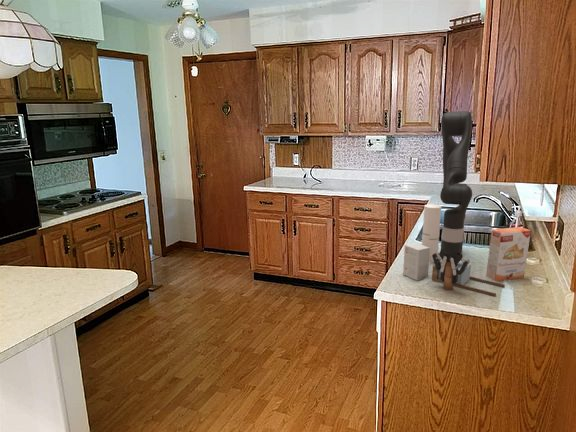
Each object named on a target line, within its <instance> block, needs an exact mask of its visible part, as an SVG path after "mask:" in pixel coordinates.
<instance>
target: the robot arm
mask: <svg viewBox="0 0 576 432" xmlns="http://www.w3.org/2000/svg"><path fill="white" fill-rule="evenodd" d="M440 125H441V137H442V173H443V181H442V182H443V183H442V188H441V190H440V194H439V196H440V200H441V202H442V203H444V205H456V207H453V208H448V209H446V210H445V211H444V214H443V223H442V224H443V225H442V230H441V236H440V237H441V240H440V251H438V253H434V254H433V255H432V257H433V260H434V262H433V263H434V264H433V265H435V267H436V269H437V270H440V271H441V275H440V279H441V281H443V282H444V273H445V264H446V261H447V262H451V266H452V270H453V275H452V284H455V283H456V282H457V281H458V275H461V274H462V273H463V272H464V271H465V269H466V267H467V266H468V264H470V262H471V260H470V259H465V258H464V256H463V245H464V233H465V222H466V213H467V211H468V207H469V205H470V203H471V200H472V199H473V198H472V197H473V191H472V188H471V186H469V185H468V184H467V183H464V182H466V181H467V177H468V156H469V151H470V150H469V149H470V146H471V144H470V143H471V137H472V128H473V116H472V113H471V112H470V111H468V110H466V111H465V110H459V111H458V110H457V111H447V112H445V113H443V114H442V116H441V124H440ZM453 136H454V137H455V136H456V137H457V136H459V137H460V136H461V138H460V140H459V142H458V143H457V142H456V140H455V138H453ZM457 205H458V206H457ZM440 258H441V260H440ZM440 261H443V262H442V265H441V263H440ZM459 262H462V267H461V268H460V270H458V267H459V266H458V263H459Z"/></svg>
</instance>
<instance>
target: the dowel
mask: <svg viewBox="0 0 576 432" xmlns="http://www.w3.org/2000/svg"><path fill="white" fill-rule="evenodd" d="M452 275H453V270H452V266H451V262H447V261H446V264H445V273H444V283H443V284H442V285H443V287H442V289H444V290H445V291H452V290H453V289H454V286H453V284H452Z"/></svg>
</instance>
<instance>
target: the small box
mask: <svg viewBox="0 0 576 432" xmlns="http://www.w3.org/2000/svg"><path fill="white" fill-rule="evenodd" d="M429 255H430V248H429V247H426V246H423V245H422V243H421V244H420V243H418V242H413V243H408V244H405V245H404V256H403V273H402V274H403V275H404V276H406V277H408V278H411V279H413V280H414V281H420V280H421V281H422V280H424V279H426V278H427V277H429V269H430V267H429V266H430V263H429Z"/></svg>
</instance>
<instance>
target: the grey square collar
mask: <svg viewBox="0 0 576 432" xmlns="http://www.w3.org/2000/svg"><path fill="white" fill-rule="evenodd" d="M441 265H442V264H441ZM458 266H459V267H458V270H460V268H461V267H462V261H460V262H459V263H458ZM471 268H472V264H471V263H469V264H468V266H467V267H466V269H465V271H464V272H463V273H462V274H461V275H458V281H457V282H456V283H457V284H461V285H465V284H466V283H468V282H469V281H470V276H471ZM440 275H441V271H440V270H439V276H438V279H440Z"/></svg>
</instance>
